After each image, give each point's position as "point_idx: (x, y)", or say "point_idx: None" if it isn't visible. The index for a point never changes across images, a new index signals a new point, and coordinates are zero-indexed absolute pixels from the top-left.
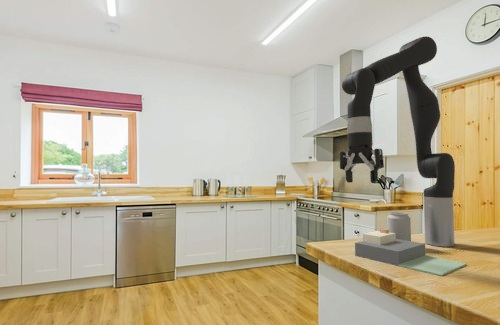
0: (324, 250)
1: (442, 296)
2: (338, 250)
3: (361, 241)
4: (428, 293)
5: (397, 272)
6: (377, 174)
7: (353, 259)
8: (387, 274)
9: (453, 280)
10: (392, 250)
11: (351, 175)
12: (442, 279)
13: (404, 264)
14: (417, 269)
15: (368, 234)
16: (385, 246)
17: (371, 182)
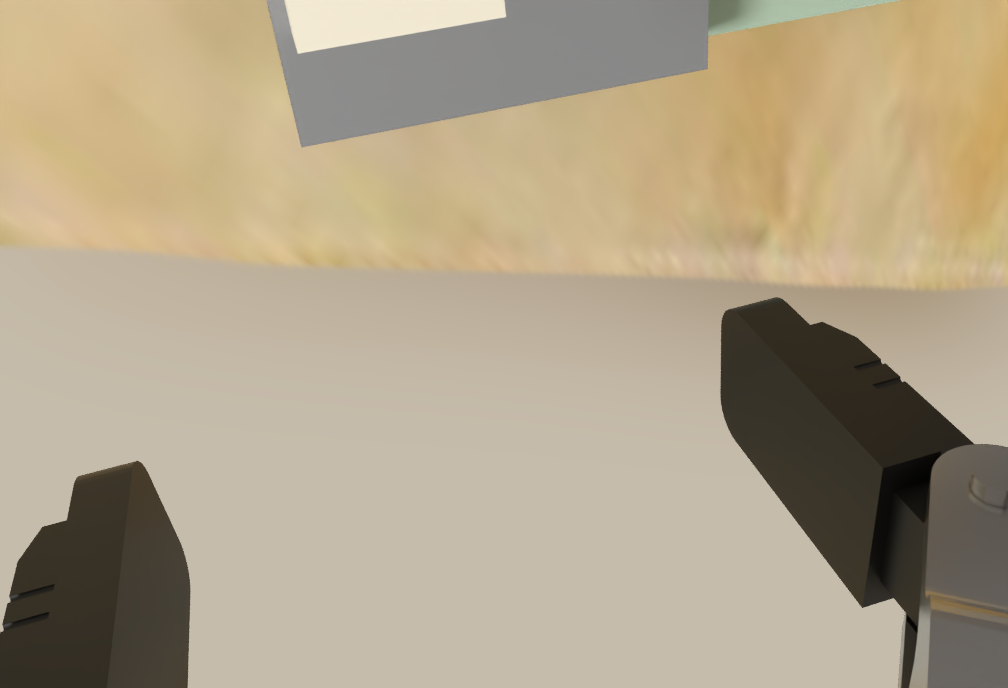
0: (18, 232)
1: (981, 263)
2: (63, 114)
3: (282, 43)
4: (934, 285)
5: (724, 167)
6: (924, 409)
7: (379, 204)
8: (707, 247)
9: (980, 4)
10: (662, 77)
11: (141, 617)
12: (934, 45)
13: None
14: (788, 18)
15: (360, 28)
16: (552, 11)
17: (730, 408)
